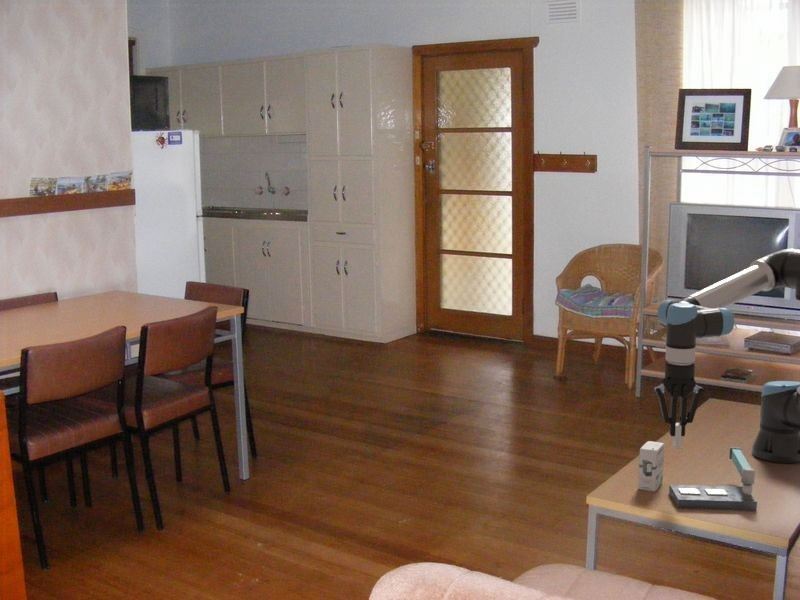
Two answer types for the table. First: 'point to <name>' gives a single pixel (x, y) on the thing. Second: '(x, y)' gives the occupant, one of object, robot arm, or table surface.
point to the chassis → (713, 497)
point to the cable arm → (742, 465)
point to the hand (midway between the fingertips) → (676, 447)
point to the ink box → (651, 466)
